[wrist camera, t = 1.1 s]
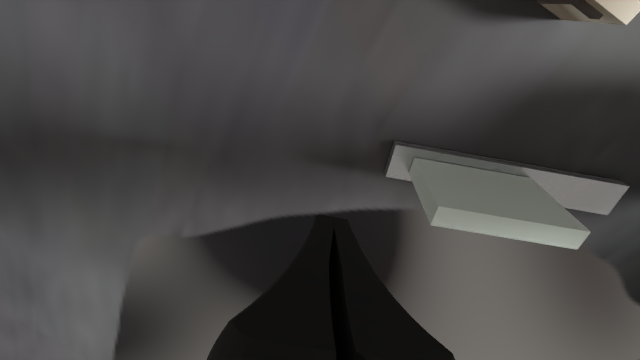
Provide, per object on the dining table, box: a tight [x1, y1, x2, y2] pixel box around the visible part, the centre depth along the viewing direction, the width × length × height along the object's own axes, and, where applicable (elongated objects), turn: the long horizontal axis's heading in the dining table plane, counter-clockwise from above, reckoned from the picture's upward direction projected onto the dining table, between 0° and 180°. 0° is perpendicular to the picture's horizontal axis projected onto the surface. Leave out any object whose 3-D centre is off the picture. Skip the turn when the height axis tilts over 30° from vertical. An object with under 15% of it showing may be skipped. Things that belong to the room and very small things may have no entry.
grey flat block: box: [409, 158, 591, 249], centre depth 18 cm, size 8×1×6 cm, turn 80°
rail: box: [384, 140, 630, 215], centre depth 21 cm, size 16×2×1 cm, turn 80°
